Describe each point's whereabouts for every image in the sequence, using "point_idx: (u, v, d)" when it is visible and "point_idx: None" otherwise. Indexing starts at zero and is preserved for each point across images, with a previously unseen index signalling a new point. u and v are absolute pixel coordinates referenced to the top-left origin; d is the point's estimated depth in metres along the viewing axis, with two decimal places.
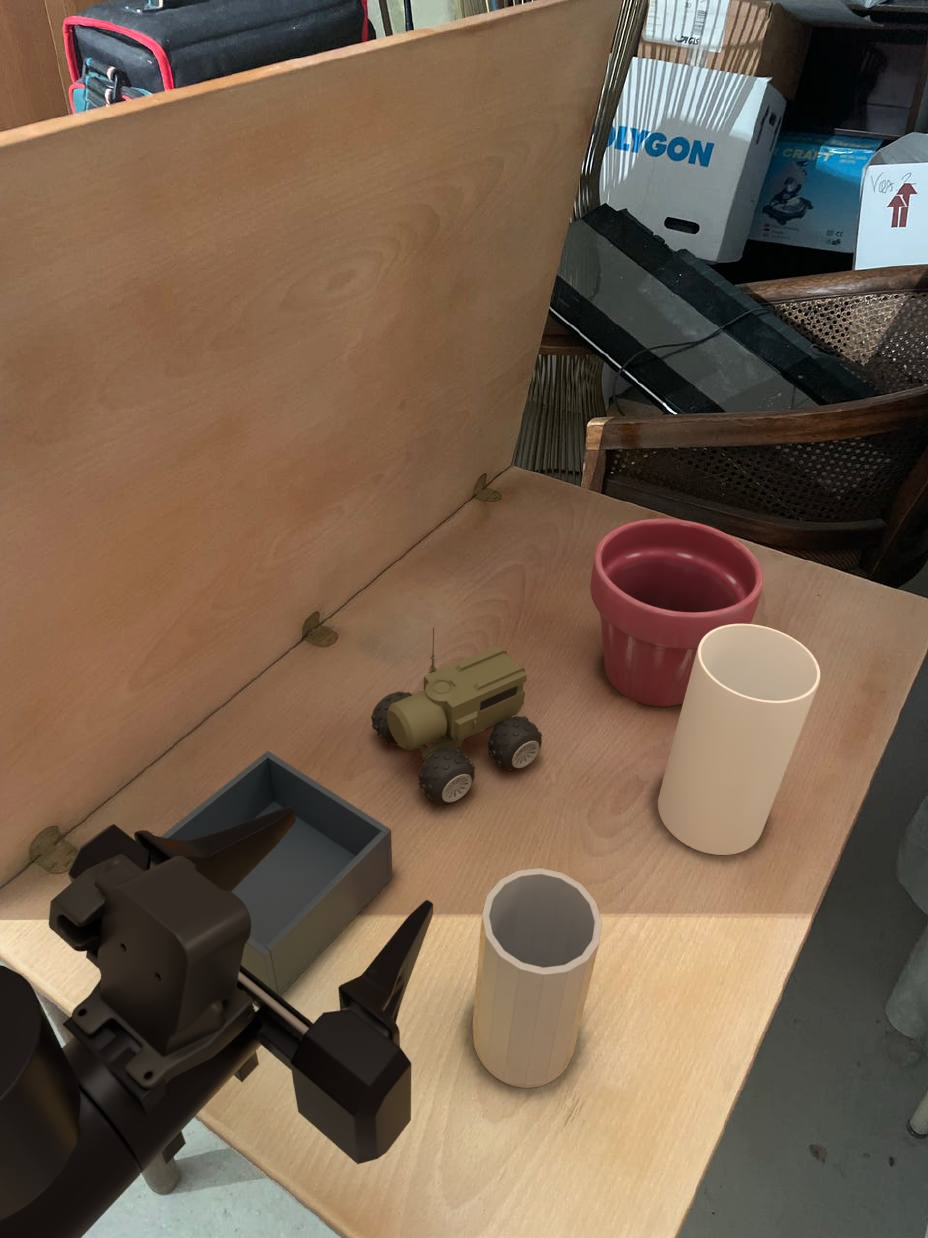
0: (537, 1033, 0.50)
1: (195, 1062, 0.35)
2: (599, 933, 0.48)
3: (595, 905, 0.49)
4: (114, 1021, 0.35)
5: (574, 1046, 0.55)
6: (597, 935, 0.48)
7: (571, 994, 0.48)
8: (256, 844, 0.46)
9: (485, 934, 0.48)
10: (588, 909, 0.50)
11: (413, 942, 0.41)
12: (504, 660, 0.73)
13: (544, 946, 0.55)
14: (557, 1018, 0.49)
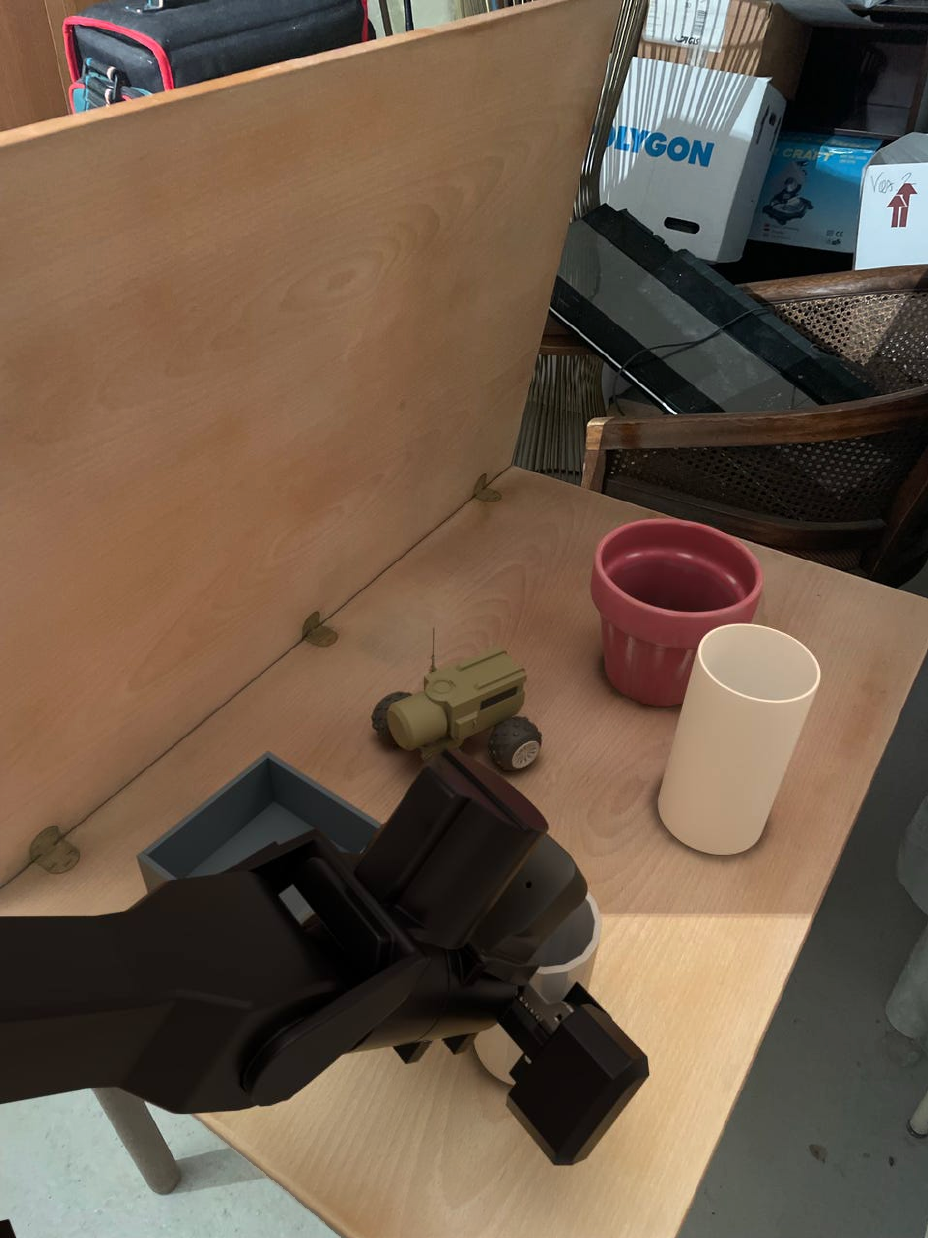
0: None
1: (502, 974, 0.42)
2: (599, 933, 0.48)
3: (595, 905, 0.49)
4: None
5: None
6: (597, 935, 0.48)
7: None
8: None
9: None
10: (588, 909, 0.50)
11: None
12: (504, 660, 0.73)
13: (544, 946, 0.55)
14: None
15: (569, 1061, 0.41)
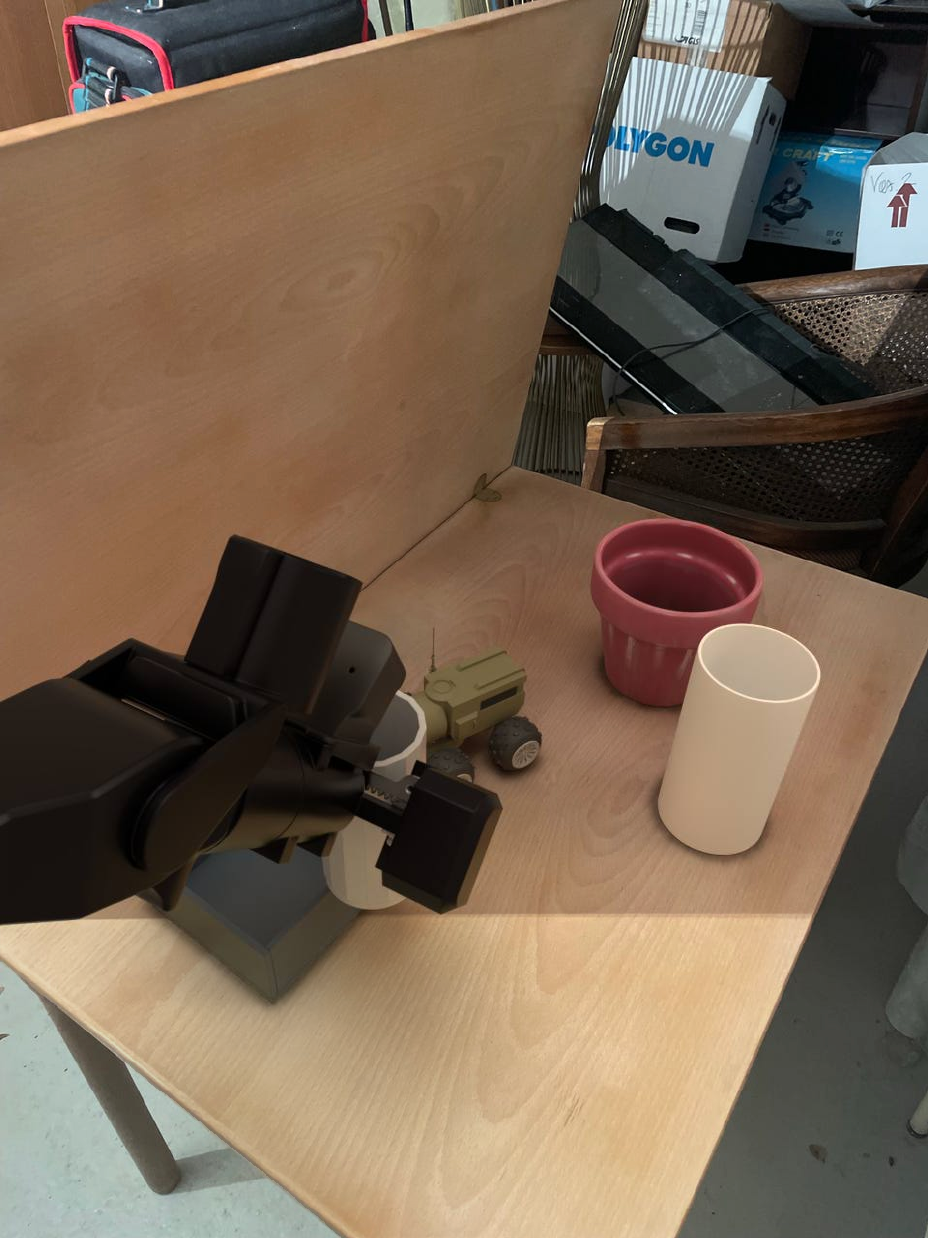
0: None
1: (349, 755, 0.43)
2: (424, 720, 0.50)
3: (413, 700, 0.52)
4: None
5: None
6: (422, 723, 0.50)
7: None
8: None
9: None
10: (408, 707, 0.52)
11: None
12: (504, 660, 0.73)
13: None
14: None
15: (430, 815, 0.43)
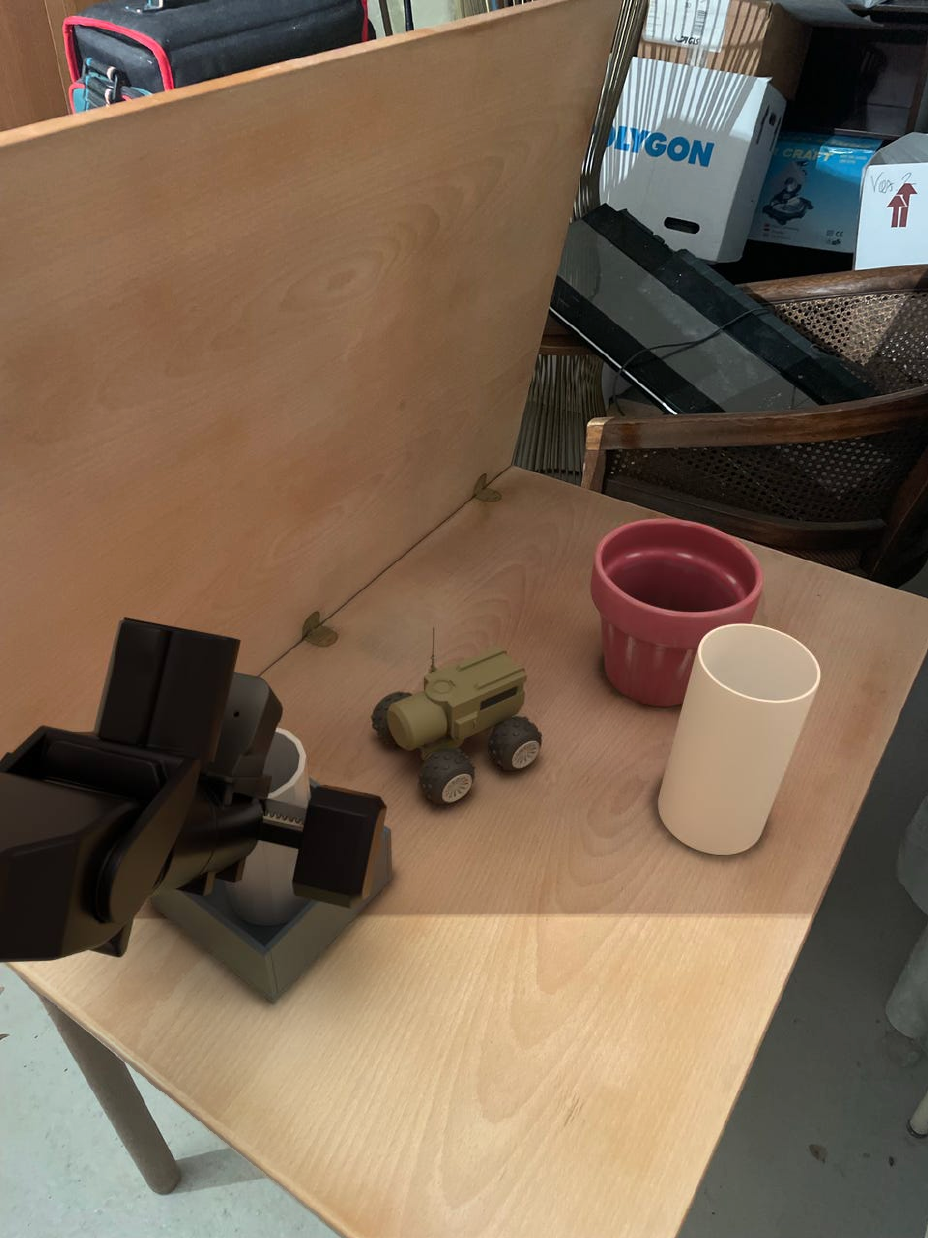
0: (288, 857, 0.58)
1: (248, 789, 0.48)
2: (302, 749, 0.57)
3: (289, 733, 0.58)
4: None
5: None
6: (302, 751, 0.57)
7: None
8: None
9: None
10: (285, 739, 0.58)
11: None
12: (504, 660, 0.73)
13: None
14: None
15: (327, 826, 0.50)
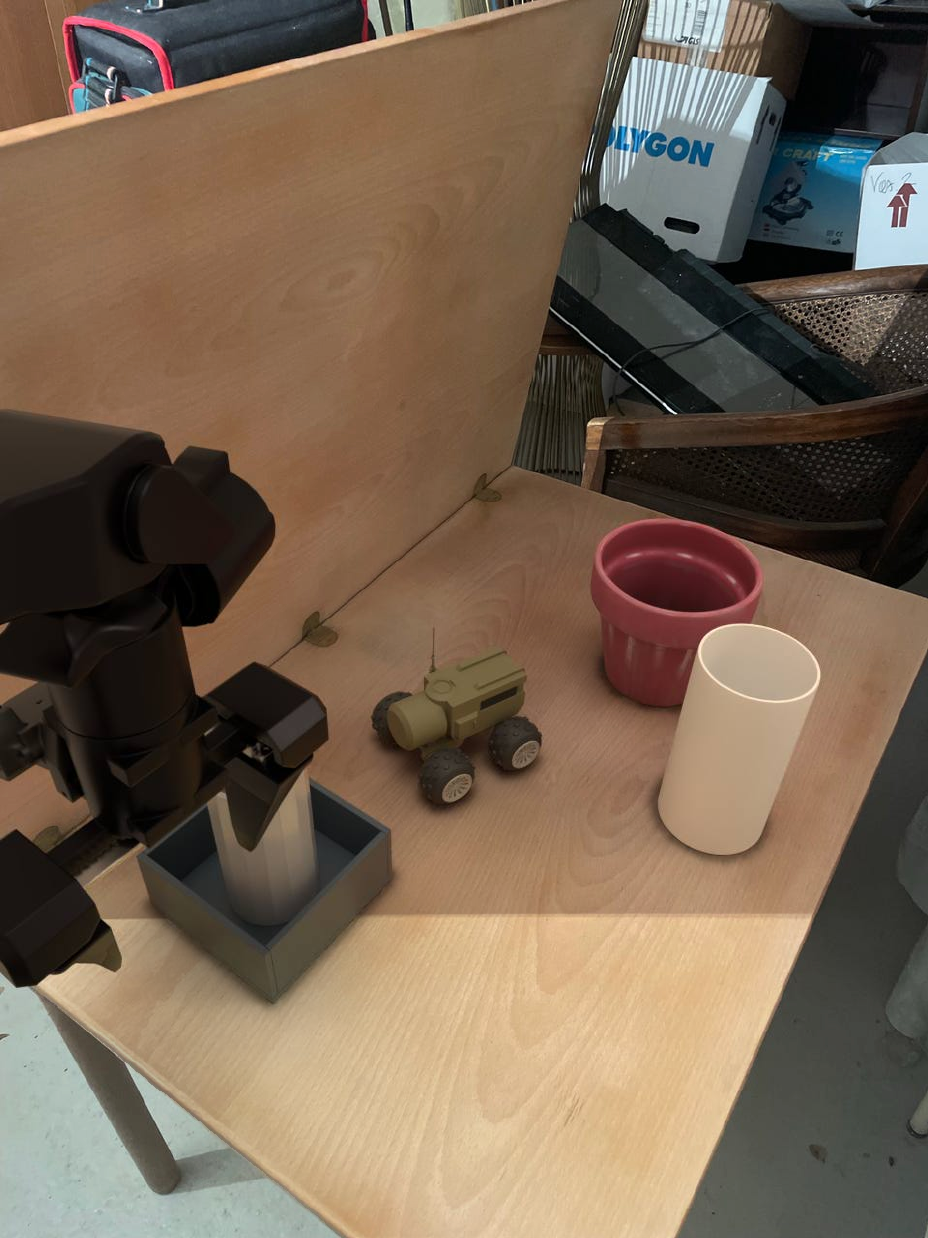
0: (288, 857, 0.58)
1: None
2: None
3: None
4: None
5: (317, 865, 0.63)
6: None
7: (302, 807, 0.57)
8: None
9: None
10: None
11: None
12: (504, 660, 0.73)
13: None
14: (299, 835, 0.58)
15: (239, 688, 0.47)
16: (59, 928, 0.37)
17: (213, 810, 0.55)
